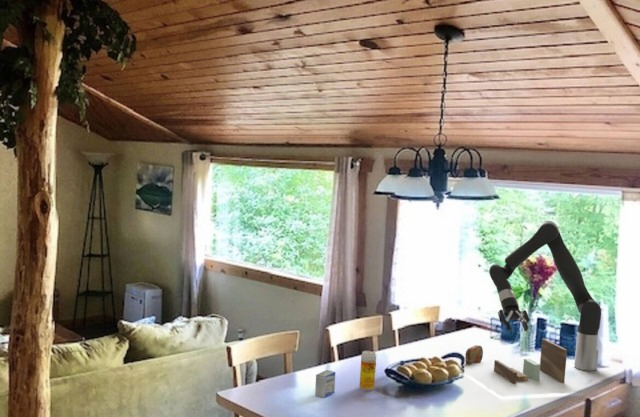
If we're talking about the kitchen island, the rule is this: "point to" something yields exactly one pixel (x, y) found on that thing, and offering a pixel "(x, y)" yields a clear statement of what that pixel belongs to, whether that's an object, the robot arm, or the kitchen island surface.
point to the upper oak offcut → (520, 376)
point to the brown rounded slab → (474, 355)
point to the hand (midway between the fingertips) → (518, 330)
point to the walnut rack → (541, 363)
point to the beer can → (367, 370)
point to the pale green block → (531, 369)
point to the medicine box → (325, 383)
